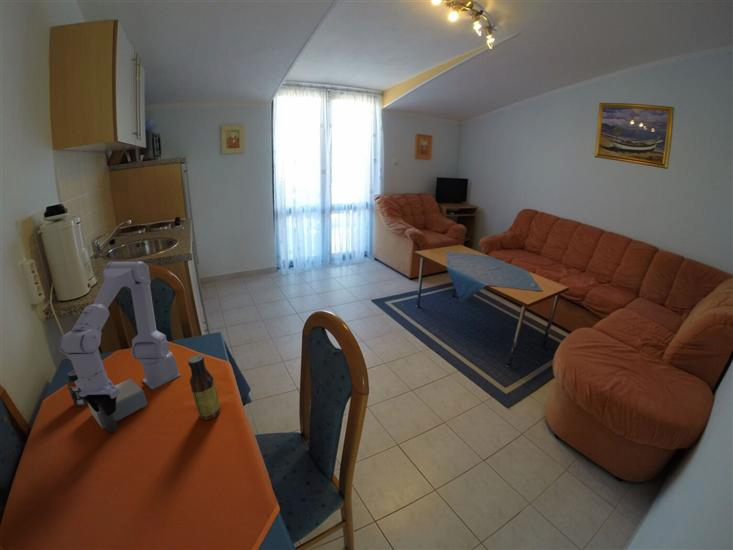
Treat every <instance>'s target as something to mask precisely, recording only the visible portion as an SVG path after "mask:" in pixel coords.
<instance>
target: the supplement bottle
mask: <svg viewBox="0 0 733 550" xmlns="http://www.w3.org/2000/svg"><path fill="white" fill-rule="evenodd" d="M67 376H68V380H67V381H66V386H67V388H68V391H69V394H70V396H71V399H72V402H73V403H74V405H75V406H76V407H84V406H89V405H88V403H87V402H86V401H85V400H84V399H83V398H81V397H79V396H78V394H79V393H80V392H81V389H80V388H77V387H76V385H75V381H76V380H78V377H77V374H76V371H75V369H72V370H70V371H69V372H68V373H67Z"/></svg>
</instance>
